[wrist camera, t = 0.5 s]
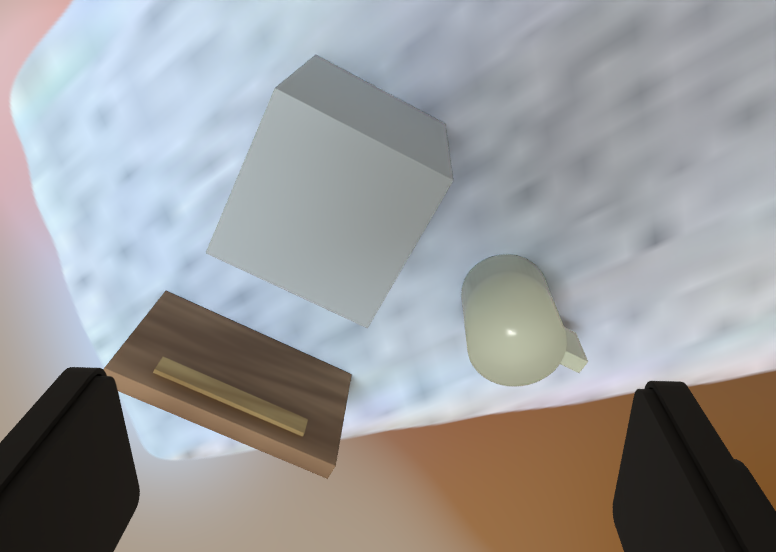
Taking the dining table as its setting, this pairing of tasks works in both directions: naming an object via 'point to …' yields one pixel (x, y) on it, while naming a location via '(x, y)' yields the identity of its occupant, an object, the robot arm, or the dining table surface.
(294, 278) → the grey box
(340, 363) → the dining table surface
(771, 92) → the dining table surface
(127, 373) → the board
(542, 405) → the dining table surface
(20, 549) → the robot arm
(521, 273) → the sage mug
